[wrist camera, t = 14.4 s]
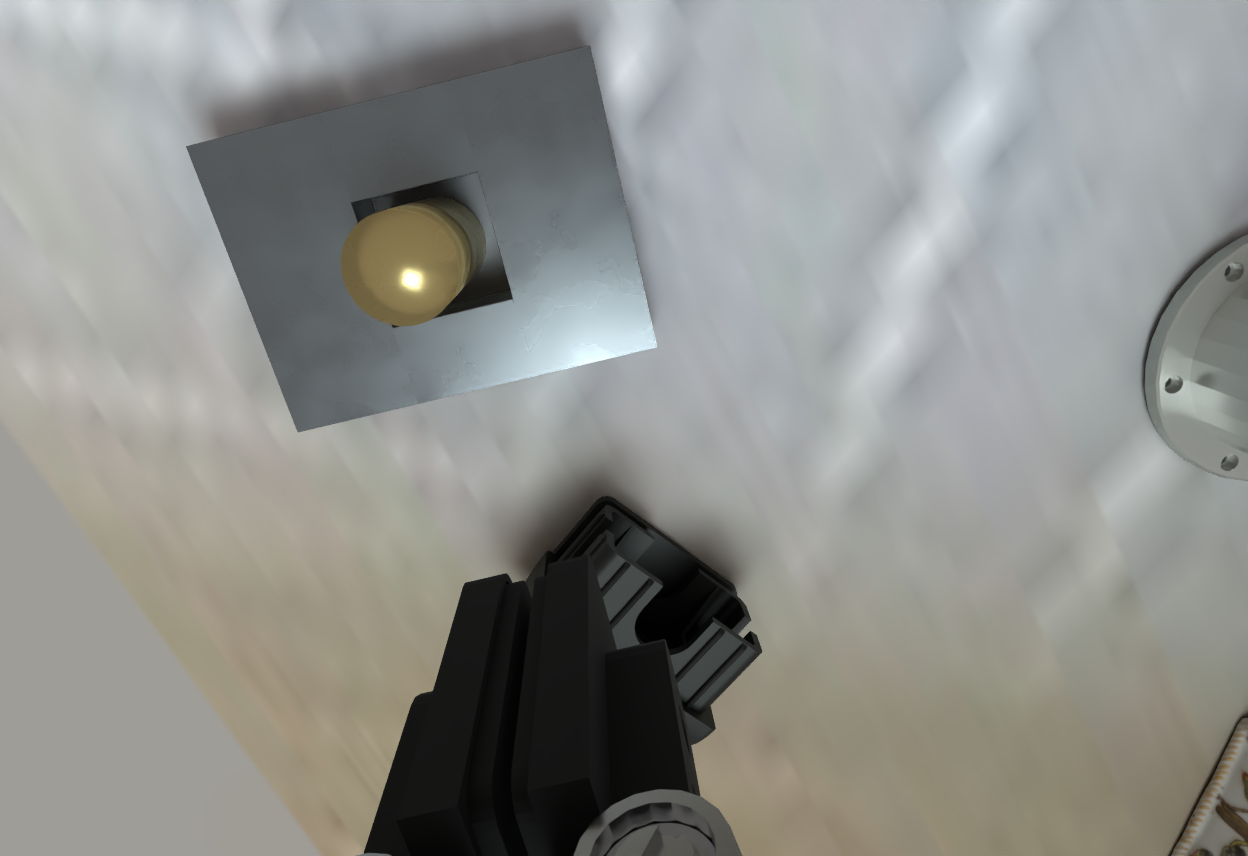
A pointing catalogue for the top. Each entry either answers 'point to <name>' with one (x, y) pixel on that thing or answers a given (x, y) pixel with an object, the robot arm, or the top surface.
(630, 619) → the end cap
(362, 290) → the beige cylinder
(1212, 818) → the decorative jar
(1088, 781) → the top surface
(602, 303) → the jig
